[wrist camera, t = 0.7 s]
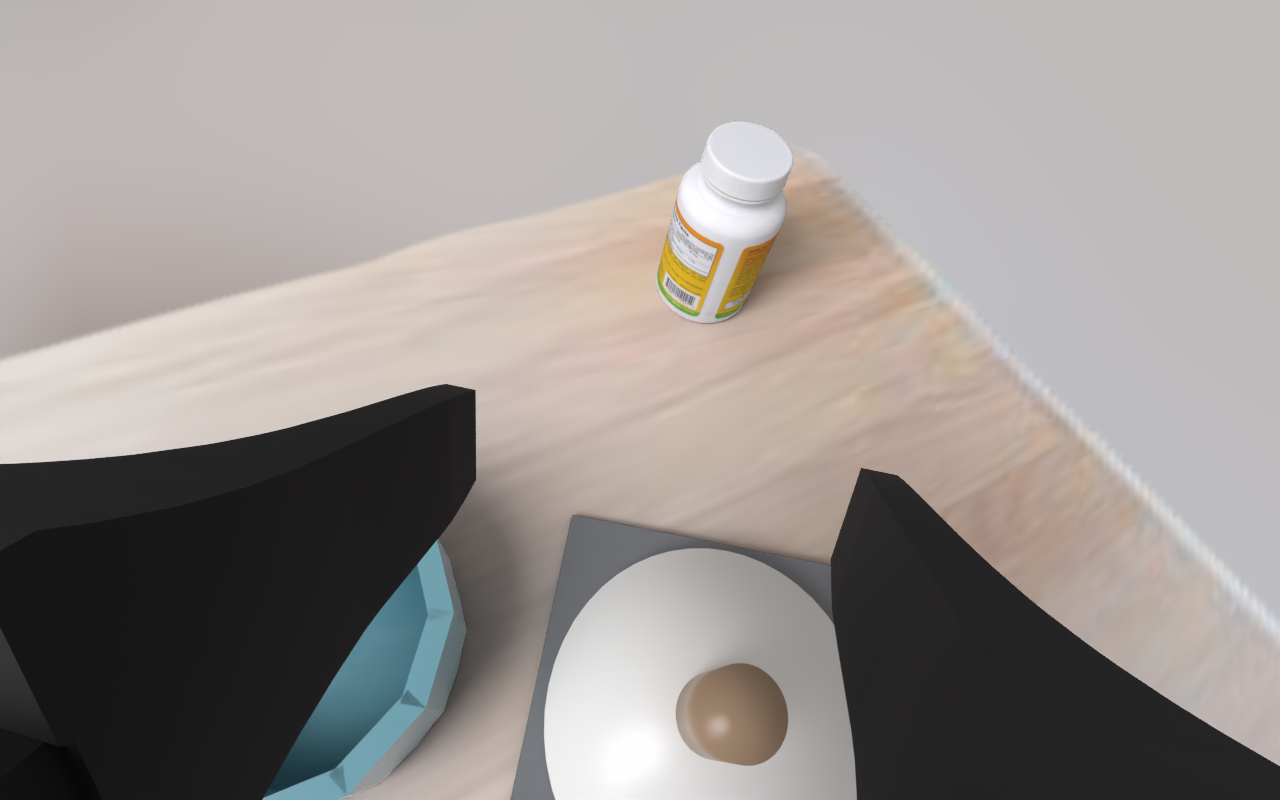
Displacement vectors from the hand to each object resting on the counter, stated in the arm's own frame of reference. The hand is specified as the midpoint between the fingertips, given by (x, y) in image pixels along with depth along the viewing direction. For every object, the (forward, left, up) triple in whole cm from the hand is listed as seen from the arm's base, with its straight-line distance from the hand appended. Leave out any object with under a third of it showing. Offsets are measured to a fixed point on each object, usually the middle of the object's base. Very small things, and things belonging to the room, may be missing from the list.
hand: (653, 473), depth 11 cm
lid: (-3, -5, -16) cm, 17 cm away
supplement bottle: (+19, -3, -17) cm, 26 cm away
